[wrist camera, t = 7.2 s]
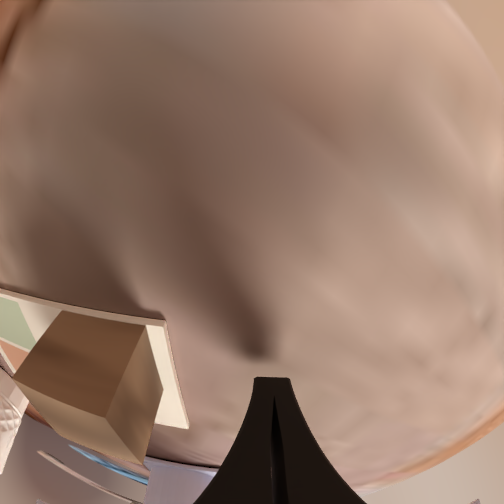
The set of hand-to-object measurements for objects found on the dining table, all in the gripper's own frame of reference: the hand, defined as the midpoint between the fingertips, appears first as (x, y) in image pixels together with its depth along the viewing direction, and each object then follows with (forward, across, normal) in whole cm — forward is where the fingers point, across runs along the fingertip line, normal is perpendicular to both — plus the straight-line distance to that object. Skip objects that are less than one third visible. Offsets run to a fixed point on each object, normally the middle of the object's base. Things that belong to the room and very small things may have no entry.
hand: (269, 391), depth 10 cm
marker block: (+1, +7, 0) cm, 7 cm away
